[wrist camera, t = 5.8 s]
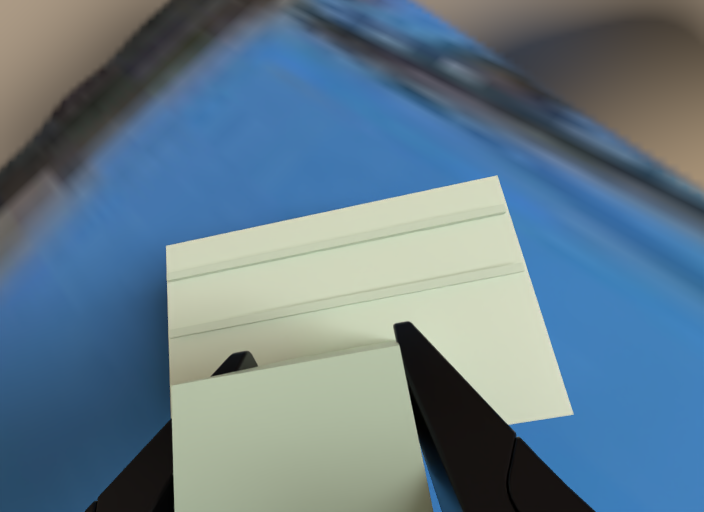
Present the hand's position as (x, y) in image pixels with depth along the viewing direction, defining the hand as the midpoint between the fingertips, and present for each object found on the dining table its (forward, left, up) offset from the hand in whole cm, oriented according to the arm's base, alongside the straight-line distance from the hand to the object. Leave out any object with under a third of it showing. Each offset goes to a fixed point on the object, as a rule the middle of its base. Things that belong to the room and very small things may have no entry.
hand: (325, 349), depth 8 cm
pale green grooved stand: (0, +1, -5) cm, 5 cm away
